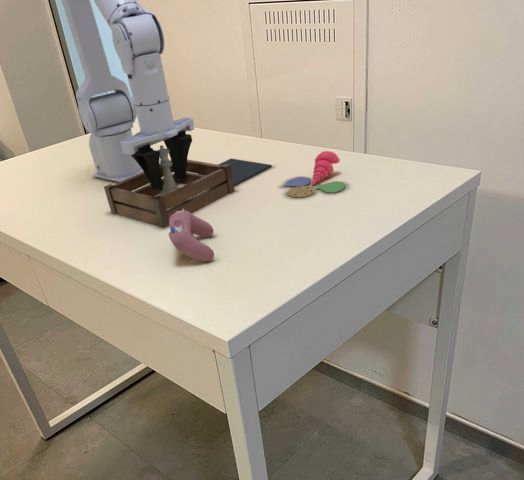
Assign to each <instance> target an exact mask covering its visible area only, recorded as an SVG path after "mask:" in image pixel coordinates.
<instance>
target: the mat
mask: <svg viewBox="0 0 524 480" xmlns="http://www.w3.org/2000/svg"><path fill="white" fill-rule="evenodd" d="M224 164H229V165H231V169H232V175H233V182H234V187H236V186H238V185H239V184H242V183H243V182H245V181H248V180H249V179H251V178H253V177H255V176H257V175H259V174H261V173H263V172H265V171H267V170H269V169H271V168H272V167H273V165H272V164H268V163H262V162H255V161H250V160H243V159H236V158H229V159H226V160H225V161H223V162H220V163H219V164H218V163H217V165H224ZM200 175H202V174H200ZM205 176H206V175H205Z"/></svg>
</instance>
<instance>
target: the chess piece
mask: <svg viewBox="0 0 524 480" xmlns="http://www.w3.org/2000/svg"><path fill="white" fill-rule="evenodd" d="M156 151H159V152H160V156H159V165H160V168H163V172H164V177H163V178H164V186H163V191H162V192H160V193H159V196H164V195H166V194H168V193H171V192H173V191H175V190H177V189H179V188H180V187H179V184H177V183H175V181H174V179H173V177H172V174H173V173H171V170H170V167H171V166H172V162H170V159H169V151H170V150H169V149H167V148H165V146H164V145H161V144H160V146H159V149H157V150H156ZM183 202H184V201H183ZM181 203H182V202H181ZM179 204H180V203H179ZM177 205H178V204H177Z"/></svg>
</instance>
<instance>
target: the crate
mask: <svg viewBox="0 0 524 480" xmlns="http://www.w3.org/2000/svg"><path fill="white" fill-rule="evenodd" d="M169 161H170V162H171V159H169ZM170 170H171V174H172V177H173V179H174V181H175V183H177V184H178V185H179V184H184V185H183V186H181V187H178V188H179V189H177V190H175V191H173V192H171V193H168V194H166V195H164V196H160V195H159V194H161V192H162V191H163V189H162V190H156V189H153V188H152V186H151V184H150V182H149V180H148V178H147V176H146V175H145V173H144V172H142V173H140V174H138V175H135V176H133V177H131V178H128V179H126V180H124V181H122V182H116V183H115V184H110V183H109V184H107V185H105V186H103V189H104V192H105V196H106V199H107V203H108V206H109V209H110V213H111V214H114V215H120V216H123V217H126V218H130V219H134V220H138V221H141V222H144V223H149V224H152V225H156V226H158V227H159V228H166V227H169V219H170V216H171V215H173V214H174V213H175V212H176V211H182V209H184V210H185V211H189V212H190V213H192V214H193V213H194V212H196V211H198V210H200V209H202V208H203V207H204V208H205V207H206V206H207V205H209V204H211V203H214V202H216V201H217V200H219V199H221V198H223V197H226V196H227V195H229V194H232V193H234V192H235V191H236V190H235V186H234V182H233V175H232V169H231V165H229V164H224V165H218V163H217V164H215V163H211V162H204V161H200V160H199V161H198V160H194V159H188V158H187V168H186V178H185V179H180V178H176V176H175V174H174V170H173V166H171V167H170ZM160 174H161V178H162V183H163V186H164V172H163V168H160ZM200 174H202V175H200ZM205 175H206V176H205ZM156 195H157V196H156ZM183 201H184V202H183ZM181 202H182V203H181ZM179 203H180V204H179ZM177 204H178V205H177Z"/></svg>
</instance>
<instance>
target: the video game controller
mask: <svg viewBox="0 0 524 480" xmlns="http://www.w3.org/2000/svg"><path fill="white" fill-rule="evenodd" d="M168 227H169V232H168V238H169V239H170V242H171V244H172V245H173V246H174V247H175V249H176V250H177V251H178V252H179V253H182V254H184V255H187V256H188V257H190V258H192V259H194V260H197V261H200V262H210V261H212V260H213V259H214V258H215V252H214V250H213V249H212V248H211V246H209V245H207V244H205V243H204V242H202V241H200V240H198V239H197V238H196V236H199V237H203V238H204V237H205V238H207V237H208V238H209V237H212V235H213V234H214V227H213V226H212V225H211V224H210V222H208V221H206V220H204V219H202V218H200V217H199V216H196V215H195V214H193V212H192V213H190V212H189V211H185V210H184V209H182V211H176V212H175V213H174V214H173V215H171V216H170V219H169V225H168Z"/></svg>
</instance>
